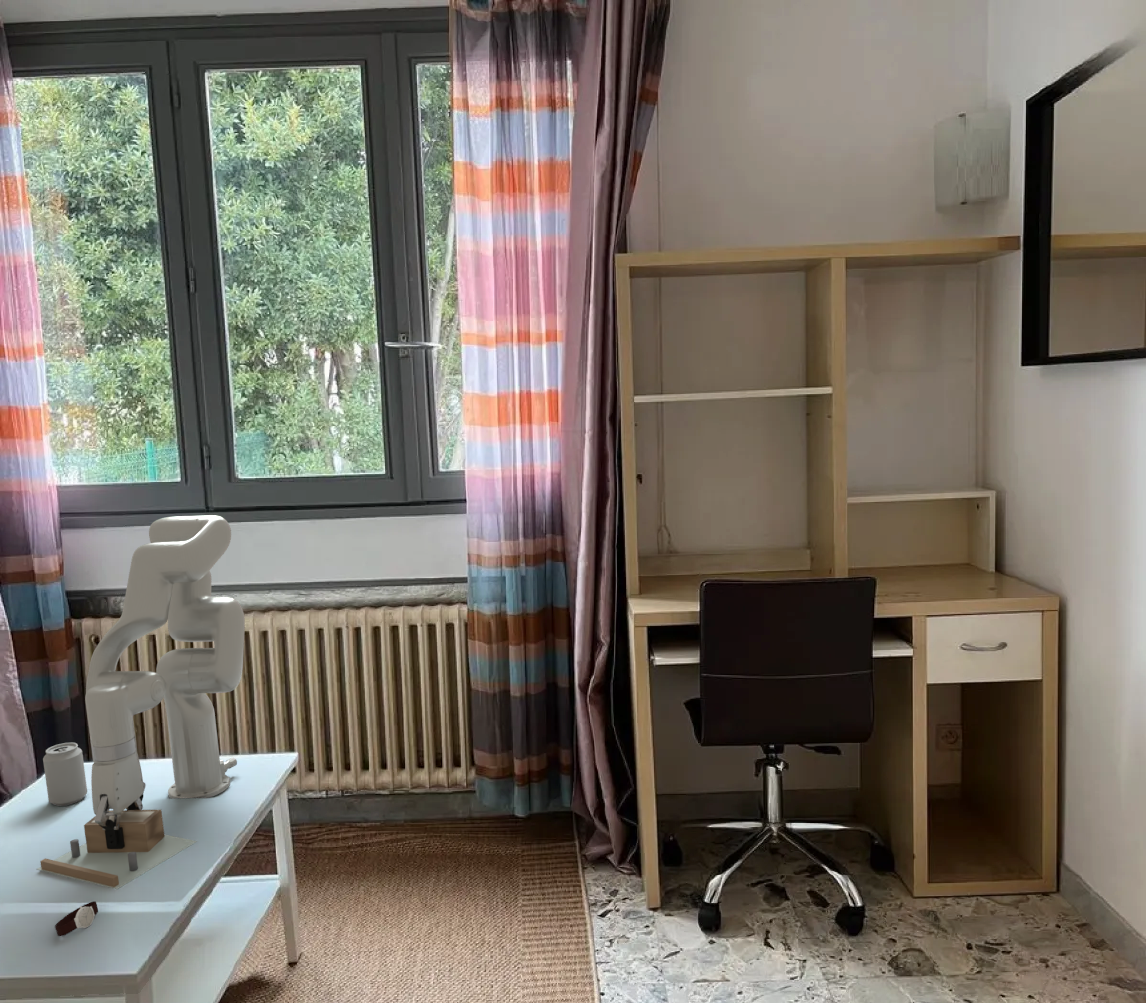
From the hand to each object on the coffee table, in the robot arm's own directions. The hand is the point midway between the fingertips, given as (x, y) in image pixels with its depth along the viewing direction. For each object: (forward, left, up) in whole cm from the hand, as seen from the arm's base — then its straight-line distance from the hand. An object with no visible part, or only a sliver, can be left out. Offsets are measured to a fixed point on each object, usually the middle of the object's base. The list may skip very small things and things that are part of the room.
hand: (125, 838), depth 182 cm
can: (-13, -33, -3) cm, 35 cm away
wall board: (+3, +2, -2) cm, 5 cm away
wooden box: (0, 0, -1) cm, 1 cm away
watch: (+21, +14, -3) cm, 26 cm away
